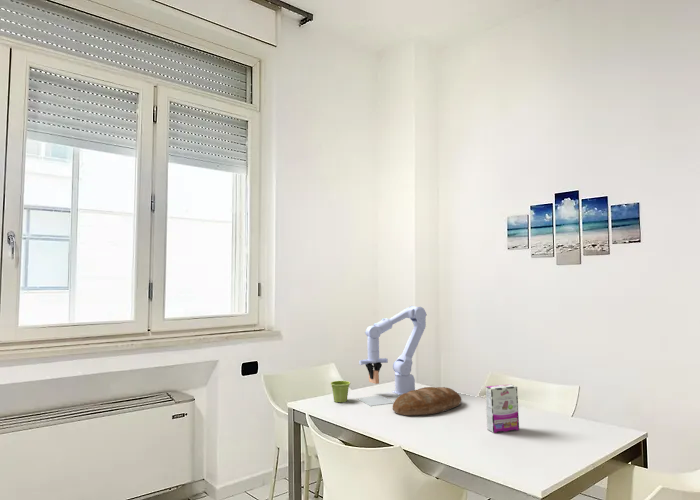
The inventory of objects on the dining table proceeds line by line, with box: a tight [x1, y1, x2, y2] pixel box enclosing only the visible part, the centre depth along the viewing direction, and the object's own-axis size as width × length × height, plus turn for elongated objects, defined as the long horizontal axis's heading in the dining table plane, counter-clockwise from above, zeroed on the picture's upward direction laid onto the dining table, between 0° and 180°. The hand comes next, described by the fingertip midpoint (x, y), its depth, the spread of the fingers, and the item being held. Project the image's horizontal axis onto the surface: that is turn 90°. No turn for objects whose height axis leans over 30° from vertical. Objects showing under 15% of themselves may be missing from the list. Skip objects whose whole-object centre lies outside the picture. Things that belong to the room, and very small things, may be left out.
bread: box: [392, 386, 462, 417], centre depth 227 cm, size 22×37×8 cm, turn 131°
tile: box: [368, 369, 380, 385], centre depth 250 cm, size 2×8×6 cm, turn 22°
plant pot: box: [330, 380, 351, 403], centre depth 240 cm, size 9×9×9 cm
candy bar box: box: [484, 383, 520, 434], centre depth 192 cm, size 11×5×16 cm, turn 105°
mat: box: [356, 394, 395, 407], centre depth 239 cm, size 13×16×1 cm
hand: (373, 378), depth 250 cm, fingers closed on tile, 2 cm apart
